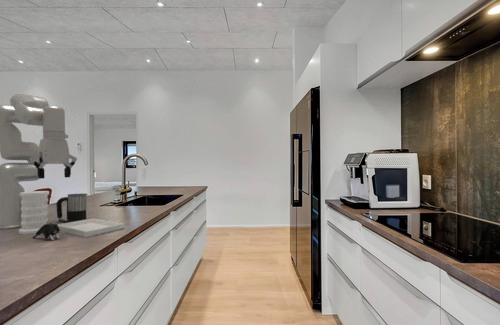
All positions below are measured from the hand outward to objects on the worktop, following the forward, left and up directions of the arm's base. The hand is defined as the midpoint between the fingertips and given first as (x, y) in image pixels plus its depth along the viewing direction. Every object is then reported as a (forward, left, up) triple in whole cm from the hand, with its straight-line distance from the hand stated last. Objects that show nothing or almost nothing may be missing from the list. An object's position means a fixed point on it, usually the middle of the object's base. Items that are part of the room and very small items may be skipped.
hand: (54, 177), depth 116 cm
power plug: (-4, -2, -26) cm, 26 cm away
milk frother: (-25, +20, -26) cm, 41 cm away
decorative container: (-23, +2, -26) cm, 35 cm away
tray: (-3, +16, -25) cm, 30 cm away
